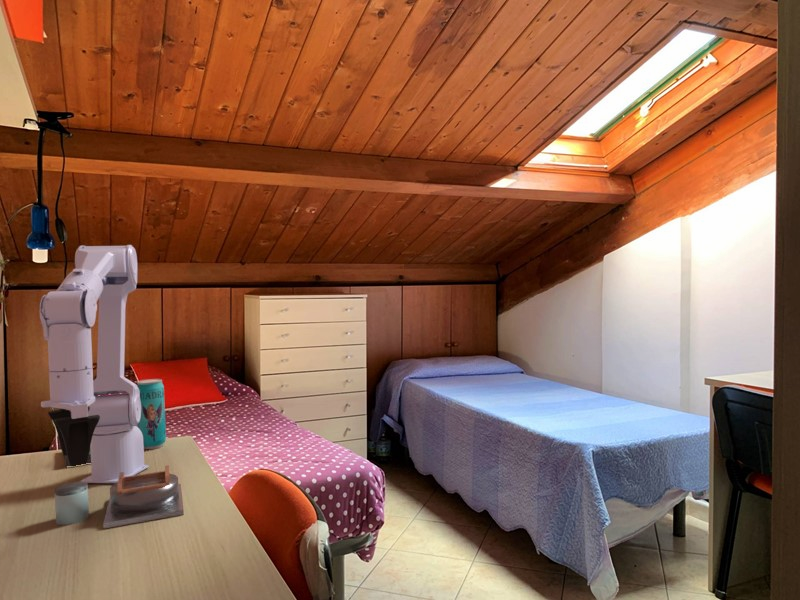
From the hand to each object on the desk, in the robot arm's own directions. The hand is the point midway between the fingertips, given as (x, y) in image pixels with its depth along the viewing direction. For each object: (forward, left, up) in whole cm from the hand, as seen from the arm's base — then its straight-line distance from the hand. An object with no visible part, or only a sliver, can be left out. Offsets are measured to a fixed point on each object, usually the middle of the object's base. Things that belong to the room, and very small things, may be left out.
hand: (74, 459), depth 85 cm
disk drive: (-34, -22, -10) cm, 42 cm away
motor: (-6, +7, -10) cm, 14 cm away
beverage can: (-40, -12, -10) cm, 43 cm away
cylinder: (-1, -2, -10) cm, 10 cm away
